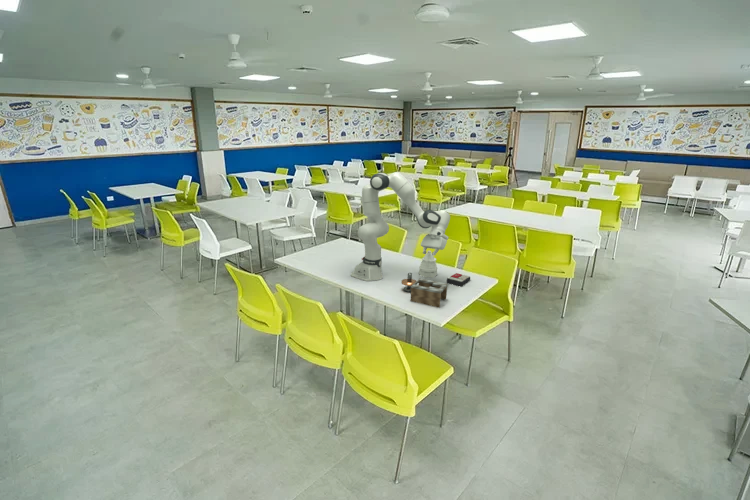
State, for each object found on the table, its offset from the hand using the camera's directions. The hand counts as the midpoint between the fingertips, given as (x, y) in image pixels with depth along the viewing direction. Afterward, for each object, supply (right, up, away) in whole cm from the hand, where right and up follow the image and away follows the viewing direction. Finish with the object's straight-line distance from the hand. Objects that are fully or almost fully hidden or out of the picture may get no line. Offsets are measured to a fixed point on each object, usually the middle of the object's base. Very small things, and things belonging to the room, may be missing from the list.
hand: (428, 254), depth 243 cm
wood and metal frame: (-2, -28, -11) cm, 30 cm away
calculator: (+23, -20, +19) cm, 36 cm away
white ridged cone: (+4, -15, +31) cm, 35 cm away
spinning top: (-12, -23, +3) cm, 26 cm away
